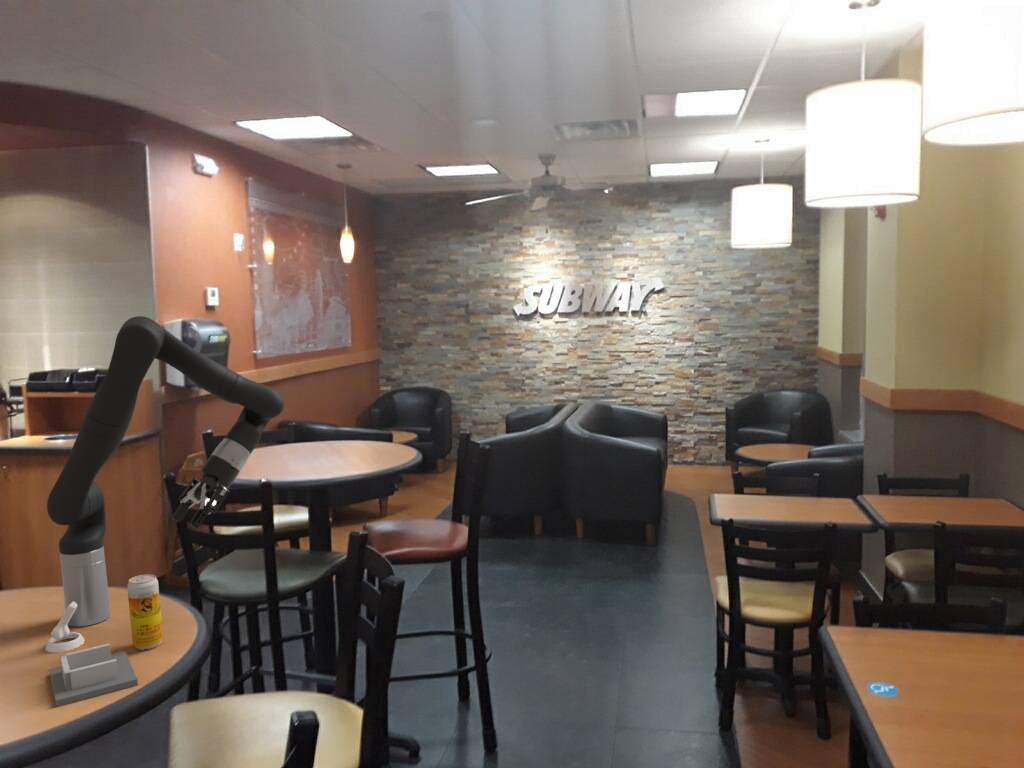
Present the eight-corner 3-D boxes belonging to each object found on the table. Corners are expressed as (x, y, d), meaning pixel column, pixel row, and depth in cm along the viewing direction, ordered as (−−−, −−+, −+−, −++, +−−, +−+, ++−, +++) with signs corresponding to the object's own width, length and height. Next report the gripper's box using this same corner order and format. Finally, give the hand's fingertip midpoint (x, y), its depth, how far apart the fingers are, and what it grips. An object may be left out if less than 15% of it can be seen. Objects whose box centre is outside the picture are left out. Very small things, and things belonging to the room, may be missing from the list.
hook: (92, 628, 176) (60, 614, 174) (67, 669, 179) (36, 656, 177) (105, 608, 183) (74, 594, 181) (81, 648, 186) (50, 635, 184)
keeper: (49, 675, 166) (47, 652, 166) (125, 656, 174) (123, 634, 173) (56, 706, 153) (53, 682, 152) (137, 684, 160) (135, 661, 160)
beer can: (138, 653, 175) (131, 585, 173) (129, 645, 179) (122, 578, 177) (167, 645, 179) (161, 578, 177) (158, 636, 183) (152, 571, 181)
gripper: (199, 451, 193) (157, 510, 186) (229, 456, 184) (186, 519, 177) (222, 468, 198) (182, 527, 191) (253, 474, 188) (212, 536, 181)
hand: (184, 523), depth 184 cm, fingers open, 8 cm apart
